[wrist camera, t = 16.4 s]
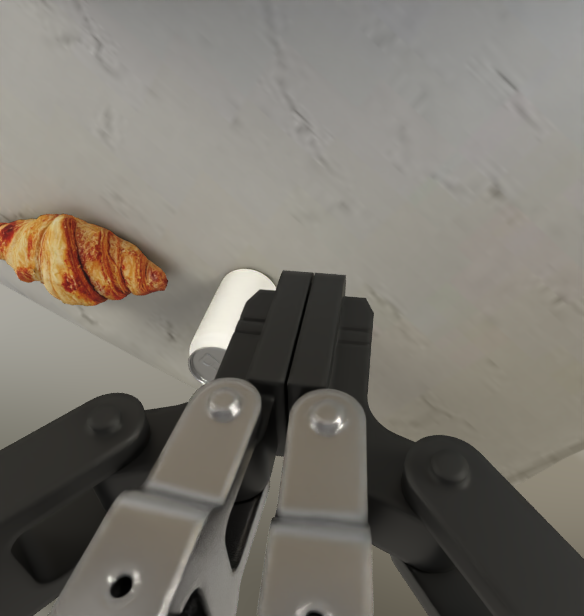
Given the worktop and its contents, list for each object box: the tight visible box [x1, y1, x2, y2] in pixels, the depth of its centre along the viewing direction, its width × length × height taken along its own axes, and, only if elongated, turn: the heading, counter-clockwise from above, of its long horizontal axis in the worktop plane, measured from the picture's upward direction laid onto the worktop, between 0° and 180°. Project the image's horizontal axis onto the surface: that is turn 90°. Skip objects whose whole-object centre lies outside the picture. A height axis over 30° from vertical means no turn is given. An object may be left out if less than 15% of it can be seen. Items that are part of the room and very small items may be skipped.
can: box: [188, 269, 276, 385], centre depth 48 cm, size 6×6×12 cm
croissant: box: [0, 214, 168, 306], centre depth 51 cm, size 21×10×8 cm, turn 82°
